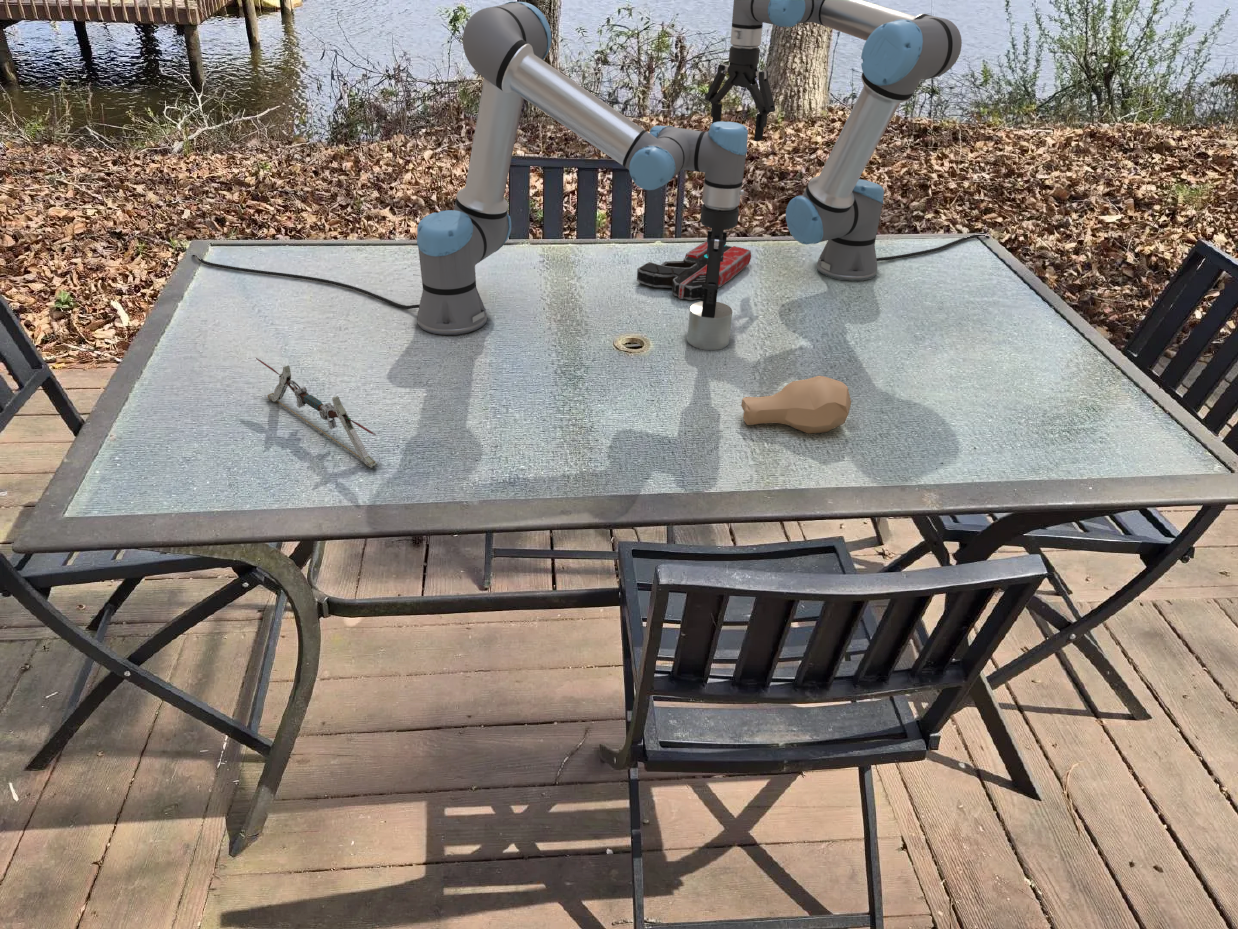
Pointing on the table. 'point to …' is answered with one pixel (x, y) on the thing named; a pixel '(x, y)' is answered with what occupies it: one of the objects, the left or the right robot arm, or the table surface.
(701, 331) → the canister
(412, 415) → the table surface
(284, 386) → the bow
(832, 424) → the squash
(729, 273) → the gun
